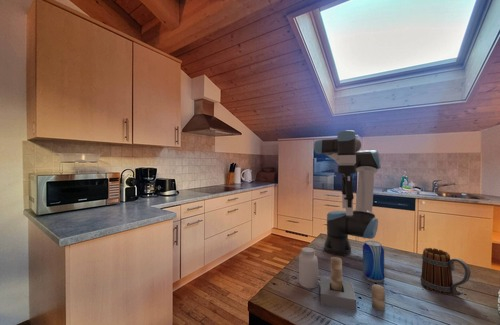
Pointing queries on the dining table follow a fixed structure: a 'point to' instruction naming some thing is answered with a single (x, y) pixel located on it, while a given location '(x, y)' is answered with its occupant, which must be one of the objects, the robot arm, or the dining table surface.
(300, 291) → the dining table surface
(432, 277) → the mug
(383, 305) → the short dowel
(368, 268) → the beer can
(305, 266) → the pill bottle
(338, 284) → the tall dowel
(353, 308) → the socket block
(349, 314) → the dining table surface
